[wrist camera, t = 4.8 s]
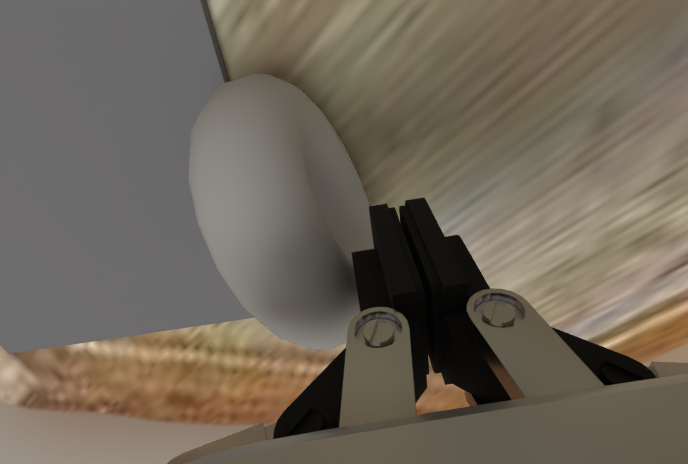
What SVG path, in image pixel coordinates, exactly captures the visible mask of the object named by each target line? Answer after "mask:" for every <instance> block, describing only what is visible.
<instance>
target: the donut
mask: <svg viewBox="0 0 688 464" xmlns="http://www.w3.org/2000/svg"><path fill="white" fill-rule="evenodd" d="M189 185H190V189H191V194H192V199H193V203H194V208H195V213H196V217H197V222H198V226H199V228H200V230H201V233H202V235H203V237H204V240H205V242H206V244H207V247H208V249H209V251H210V253H211V256H212V258H213V260H214V263H215V265H216V267H217V270H218V271H219V273H220V274H221V276H222V277H223V278H224V280H225V281H226V283H227V284H228V286H229V287H230V289H231V290H232V291H233V293H234V294H235V296H236V297H237V299H238V300H239V302H240V303H241V305H242V306H243V307H244V308H245V309H246V310H247V311H248V312H249V313H251V314H252V315H253V316H254V317H255V318H256V319H257V320H258V321H260V322H261V323H262V324H263V325H264V326H265V327H266V328H268V329H269V330H270V331H271V332H272V333H274V334H275V335H276V336H277V337H279V338H280V339H283V340H286V341H289V342H292V343H295V344H298V345H301V346H303V347H307V348H311V349H315V350H325V349H333V348H335V347H338V346H340V345H343V344H345V343H347V332H348V327H349V324H350V322H351V321H352V319H353V318H354V317H355V316H356V315H357V314H359V313H360V306H359V300H358V293H357V286H356V280H355V273H354V267H353V260H352V254H351V252H356V251H362V250H368V249H374V245H373V237H372V229H371V222H370V214H369V207H370V204H369V201H368V198H367V196H366V193H365V191H364V188H363V186H362V183H361V181H360V178H359V176H358V174H357V171H356V169H355V167H354V165H353V163H352V161H351V159H350V157H349V155H348V153H347V151H346V149H345V147H344V145H343V144H342V142H341V140H340V138H339V137H338V135H337V133H336V131H335V130H334V128H333V127H332V125H331V124H330V122H329V121H328V120H327V118H326V117H325V115H324V114H323V113H322V111H321V110H320V109H319V108H318V107H317V106H316V105H315V104H314V103H313V102H312V101H311V100H310V99H309V98H308V97H307V96H306V95H305V94H304V93H303V92H302V91H301V90H300V89H299V88H298V87H296V86H294V85H292V84H290V83H288V82H285V81H283V80H281V79H279V78H276V77H274V76H271V75H269V74H251V75H248V76H245V77H242V78H239V79H236V80H233V81H230V82H227V83H224V84H221V85H220V86H219V87H218V88H217V89H215V90H214V91H213V92H212V93H211V94H210V95H209V97H208V99H207V100H206V102H205V104H204V106H203V108H202V110H201V112H200V114H199V116H198V118H197V120H196V122H195V124H194V126H193V128H192V130H191V138H190V158H189Z"/></svg>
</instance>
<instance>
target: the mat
mask: <svg viewBox="0 0 688 464" xmlns="http://www.w3.org/2000/svg"><path fill="white" fill-rule="evenodd" d="M227 82H229V79H228V76H227V73H226V69H225V66H224V62H223V59H222V55H221V52H220V48H219V45H218V41H217V38H216V34H215V31H214V28H213V24H212V21H211V17H210V14H209V10H208V7H207V3H206V0H0V345H1V346H2V347H3V348H4V349H5V350H6V351H7V352H8V353H9V354H10V353H17V352H24V351H30V350H37V349H44V348H51V347H58V346H64V345H71V344H78V343H85V342H92V341H98V340H105V339H112V338H119V337H125V336H132V335H139V334H146V333H153V332H159V331H166V330H173V329H180V328H187V327H193V326H200V325H207V324H214V323H220V322H227V321H234V320H241V319H248V318H254V316H253V315H252V314H251V313H249V312H248V311H247V310H246V309H245V308H244V307H243V306H242V305H241V303H240V302H239V300H238V299H237V297H236V296H235V294H234V293H233V291H232V290H231V289H230V287H229V286H228V284H227V283H226V281H225V280H224V278H223V277H222V276H221V274H220V273H219V271H218V270H217V267H216V265H215V263H214V260H213V258H212V256H211V253H210V251H209V249H208V247H207V244H206V242H205V240H204V237H203V235H202V233H201V230H200V228H199V226H198V222H197V217H196V213H195V208H194V203H193V199H192V194H191V189H190V185H189V158H190V138H191V130H192V128H193V126H194V124H195V122H196V120H197V118H198V116H199V114H200V112H201V110H202V108H203V106H204V104H205V102H206V100H207V99H208V97H209V95H210V94H211V93H212V92H213V91H214V90H215V89H217V88H218V87H219V86H220V85H221V84H224V83H227Z"/></svg>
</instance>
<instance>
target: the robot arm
mask: <svg viewBox="0 0 688 464" xmlns="http://www.w3.org/2000/svg"><path fill="white" fill-rule="evenodd" d="M399 211H400V221H399V218H398V215H397V213H396V210H395V208H394V207H393V208H388V206H387V204H382V205H376V206H370V207H369V214H370V222H371V229H372V237H373V245H374V249H368V250H362V251H356V252H351V254H352V260H353V267H354V273H355V280H356V286H357V293H358V300H359V306H360V313H359V314H357V315H356V316H355V317H354V318H353V319H352V321H351V322H350V324H349V327H348V332H347V343H346V348H345V349H344V350H343V351H342V352H341V353H340V354H339V355H338V356H337V357H336V358H335V359H334V360H333V361H332V362H331V363H330V364H329V366H328V367H327V368H326V369H325V370H324V371H323V372H322V373H321V374H320V375H319V376H318V377H317V378H316V379H315V380H314V381H313V382H312V383H311V384H310V385H309V386H308V387H307V388H306V389H305V390H304V391H303V392H302V393H301V394H300V395H299V396H298V397H297V399H296V400H295V401H294V402H293V403H292V404H291V405H290V406H289V407H288V408H287V409H286V410H285V411H284V412H283V414H282V415H281V416H280V418H279V419H278V421H277V422H276V423H274V424H271V425H268V426H266V427H265V426H264V424H263V423H261V424H258V425H255V426H253V427H250V428H248V429H245V430H242V431H240V432H237V433H234V434H232V435H229V436H227V437H224V438H221V439H219V440H216V441H214V442H211V443H208V444H206V445H203V446H201V447H198V448H195V449H193V450H190V451H188V452H185V453H183V454H181V455H179V456H177V457H175V458H174V459H172V460H170V461H169V462H168V463H167V464H688V363H673V362H651V364H650V366H649V367H646V366H644V365H643V364H642V363H640V362H638V361H636V360H634V359H632V358H630V357H628V356H625V355H622V354H620V353H617V352H615V351H612V350H609V349H607V348H604V347H602V346H599V345H596V344H594V343H591V342H589V341H586V340H583V339H581V338H578V337H576V336H573V335H570V334H568V333H565V332H563V331H560V330H558V329H555V328H552V327H550V326H549V324H548V323H547V322H546V321H545V320H544V319H543V318H542V317H541V316H540V315H539V314H538V312H537V311H536V310H535V309H534V308H533V307H532V306H531V305H530V304H529V303H528V302H527V301H526V300H525V299H524V298H523V297H521V296H520V295H518V294H516V293H514V292H512V291H508V290H504V289H493V288H492V289H490V288H489V286H488V284H487V282H486V281H485V279H484V277H483V275H482V274H481V272H480V270H479V268H478V267H477V265H476V263H475V261H474V260H473V258H472V256H471V255H470V253H469V251H468V249H467V248H466V246H465V244H464V242H463V241H462V239H461V237H460V236H459V235H454V236H448V237H444V235H443V233H442V231H441V229H440V227H439V225H438V223H437V221H436V219H435V217H434V215H433V213H432V211H431V209H430V207H429V206H428V204H427V202H426V200H425V198H418V199H412V200H406V202H405V206H400V207H399ZM400 223H401V224H400ZM428 355H429V358H430V361H431V365H432V368H433V371H434V373H440V372H441V373H442V376H443V379H444V382H445V385H446V384H454V385H456V386H458V387H459V388H461V389H463V390H465V397H466V400H467V402H468V404H469V406H470V407H464V408H458V409H452V410H445V411H439V412H432V413H426V414H420V415H417V414H416V402H417V400H418V399H419V398H420V396H421V395H422V394H423V392H424V391H425V390H426V388H427V377H426V375H428V374H429V363H428Z"/></svg>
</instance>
